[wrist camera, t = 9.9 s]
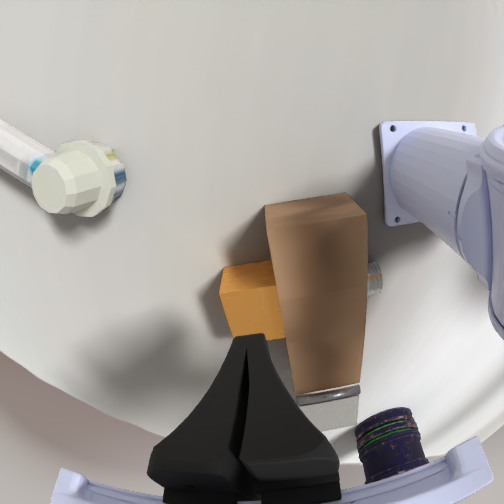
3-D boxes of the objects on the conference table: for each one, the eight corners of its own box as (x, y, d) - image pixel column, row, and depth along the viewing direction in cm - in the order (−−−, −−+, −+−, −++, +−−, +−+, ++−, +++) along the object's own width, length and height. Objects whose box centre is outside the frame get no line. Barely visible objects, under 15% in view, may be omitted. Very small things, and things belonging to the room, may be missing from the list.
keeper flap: (358, 382, 23) (360, 389, 22) (355, 418, 24) (357, 424, 24) (295, 394, 23) (296, 401, 23) (300, 428, 25) (301, 435, 24)
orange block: (237, 315, 25) (235, 344, 22) (224, 267, 23) (218, 293, 20) (370, 293, 24) (384, 318, 21) (371, 242, 22) (388, 265, 18)
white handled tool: (-56, 92, 10) (79, 172, 12) (-12, 87, 17) (139, 157, 18) (-63, 139, 13) (63, 253, 14) (-22, 129, 19) (118, 219, 21)
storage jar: (353, 442, 38) (366, 516, 25) (354, 418, 34) (372, 508, 21) (406, 426, 37) (427, 496, 24) (416, 399, 33) (445, 481, 19)
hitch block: (345, 192, 20) (367, 214, 16) (348, 348, 27) (359, 382, 23) (264, 205, 20) (266, 230, 16) (290, 358, 28) (294, 394, 23)
